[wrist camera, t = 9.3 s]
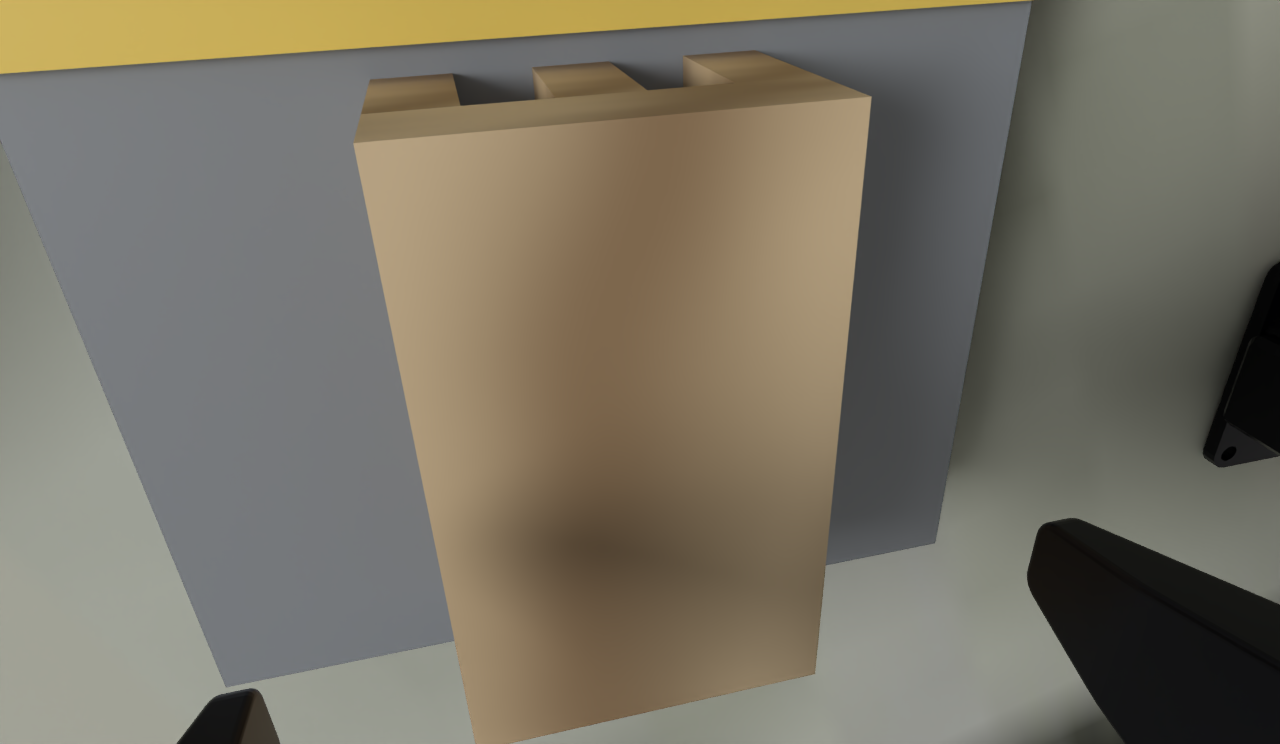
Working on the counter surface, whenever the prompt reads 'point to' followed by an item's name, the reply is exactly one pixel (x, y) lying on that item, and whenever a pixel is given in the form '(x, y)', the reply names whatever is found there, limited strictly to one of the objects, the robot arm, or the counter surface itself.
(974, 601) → the counter surface
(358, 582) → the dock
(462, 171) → the pallet
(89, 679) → the counter surface
